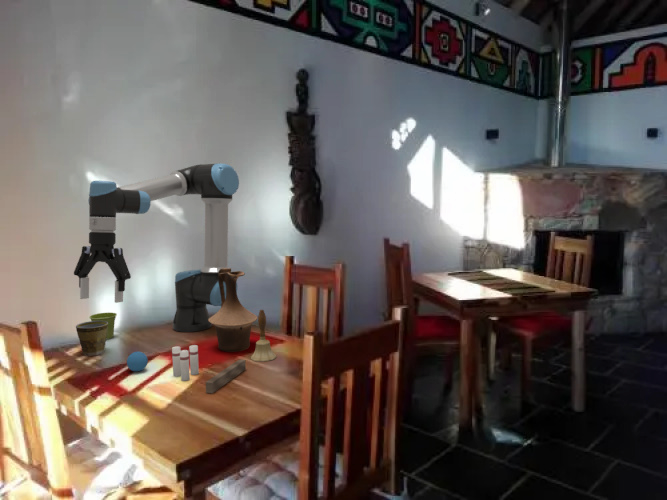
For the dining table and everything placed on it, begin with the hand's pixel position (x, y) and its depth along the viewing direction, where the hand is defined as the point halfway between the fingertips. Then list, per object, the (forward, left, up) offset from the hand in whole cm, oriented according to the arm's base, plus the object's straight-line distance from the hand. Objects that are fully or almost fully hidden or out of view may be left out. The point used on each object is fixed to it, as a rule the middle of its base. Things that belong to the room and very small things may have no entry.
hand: (101, 300), depth 164 cm
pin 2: (-3, +30, -21) cm, 37 cm away
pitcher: (-30, +29, -22) cm, 47 cm away
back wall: (0, +42, -21) cm, 47 cm away
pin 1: (+2, +30, -21) cm, 37 cm away
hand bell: (-22, +44, -22) cm, 54 cm away
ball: (0, +12, -18) cm, 22 cm away
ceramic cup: (-12, -16, -22) cm, 30 cm away
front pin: (0, +26, -21) cm, 34 cm away
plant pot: (-28, -24, -22) cm, 43 cm away
